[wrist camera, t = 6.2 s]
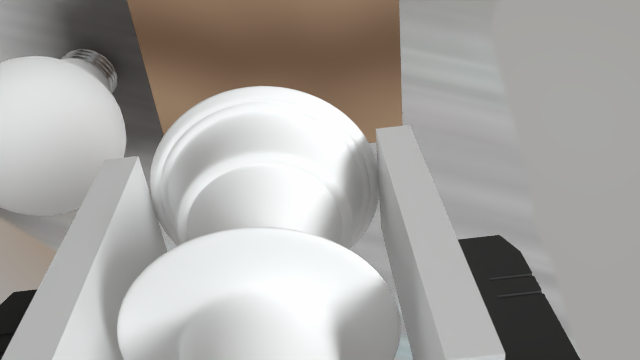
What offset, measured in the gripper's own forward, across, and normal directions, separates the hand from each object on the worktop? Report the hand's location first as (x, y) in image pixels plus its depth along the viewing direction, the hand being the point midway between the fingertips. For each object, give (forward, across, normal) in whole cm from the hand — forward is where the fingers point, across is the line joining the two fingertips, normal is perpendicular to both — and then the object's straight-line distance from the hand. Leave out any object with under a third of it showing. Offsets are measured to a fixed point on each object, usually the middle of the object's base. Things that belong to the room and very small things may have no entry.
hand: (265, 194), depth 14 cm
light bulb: (+19, -10, -3) cm, 22 cm away
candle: (0, 0, 0) cm, 0 cm away
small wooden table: (+19, 0, 0) cm, 19 cm away
